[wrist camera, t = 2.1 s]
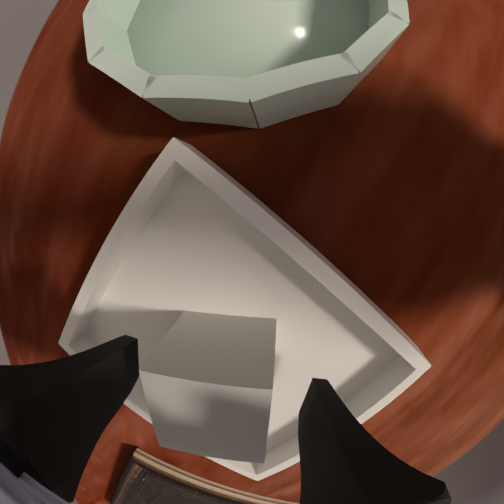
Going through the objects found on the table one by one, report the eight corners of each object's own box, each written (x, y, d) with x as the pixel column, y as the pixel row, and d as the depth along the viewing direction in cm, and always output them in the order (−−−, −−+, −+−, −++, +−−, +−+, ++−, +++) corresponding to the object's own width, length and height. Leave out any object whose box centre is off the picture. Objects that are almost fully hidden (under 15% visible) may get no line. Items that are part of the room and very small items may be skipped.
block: (270, 389, 12) (264, 463, 8) (190, 380, 13) (159, 446, 8) (276, 318, 11) (272, 389, 7) (184, 310, 12) (138, 369, 7)
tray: (413, 342, 12) (431, 365, 9) (260, 456, 14) (257, 481, 12) (192, 145, 11) (173, 136, 9) (80, 326, 13) (58, 343, 11)
